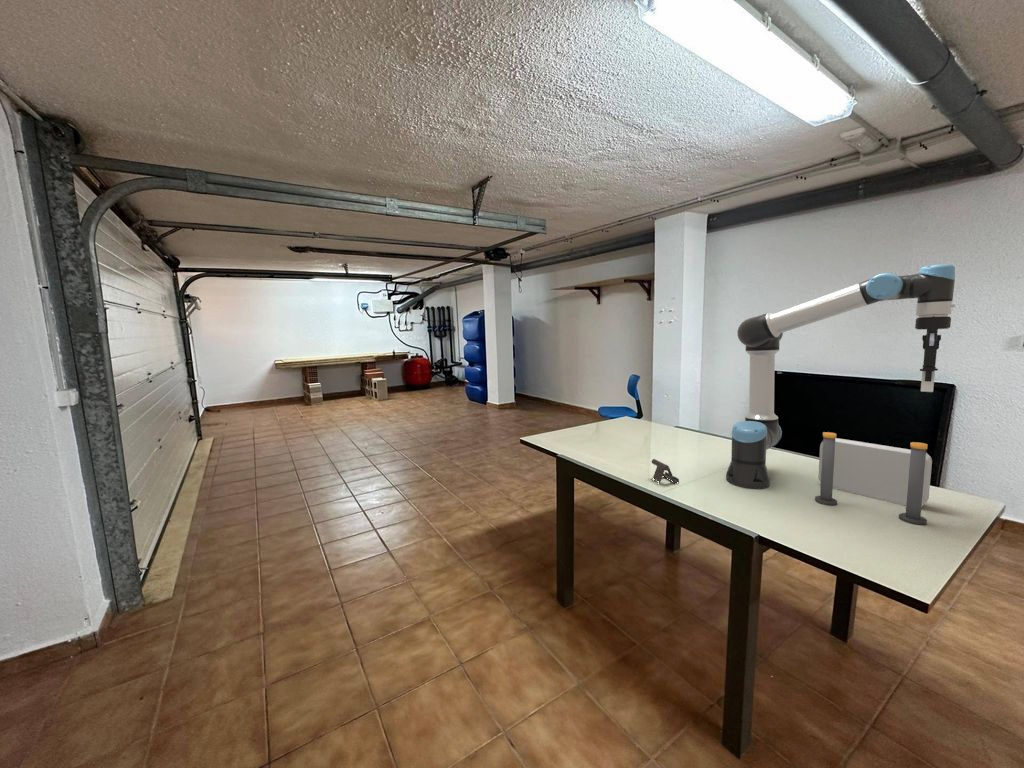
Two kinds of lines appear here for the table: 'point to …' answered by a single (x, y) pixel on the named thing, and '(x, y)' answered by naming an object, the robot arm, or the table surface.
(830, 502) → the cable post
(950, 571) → the table surface
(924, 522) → the cable post
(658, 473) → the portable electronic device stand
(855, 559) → the table surface
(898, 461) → the rounded white slab
